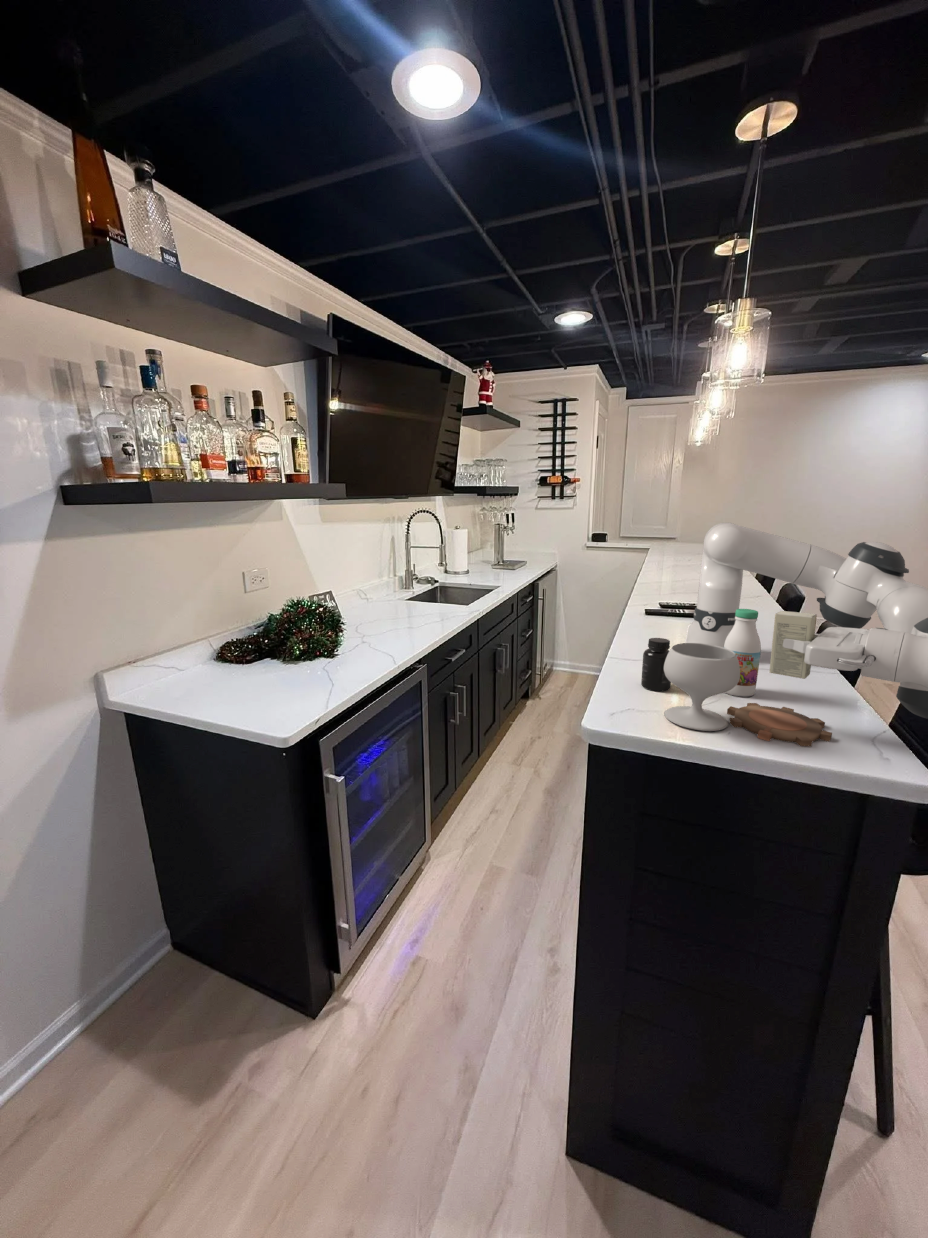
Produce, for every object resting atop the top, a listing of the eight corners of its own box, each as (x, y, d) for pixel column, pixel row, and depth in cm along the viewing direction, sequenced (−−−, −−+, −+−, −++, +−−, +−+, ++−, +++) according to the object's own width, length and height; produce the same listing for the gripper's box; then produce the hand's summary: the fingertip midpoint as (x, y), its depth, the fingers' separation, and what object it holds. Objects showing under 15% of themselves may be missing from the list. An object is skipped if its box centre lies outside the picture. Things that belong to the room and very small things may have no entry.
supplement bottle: (665, 683, 125) (670, 636, 122) (674, 692, 118) (679, 644, 116) (637, 681, 126) (641, 635, 123) (644, 691, 119) (648, 643, 116)
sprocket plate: (741, 701, 113) (742, 695, 113) (839, 726, 100) (840, 719, 100) (713, 725, 100) (714, 718, 100) (820, 756, 88) (821, 749, 88)
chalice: (657, 727, 100) (664, 655, 96) (660, 702, 112) (667, 638, 109) (735, 740, 94) (746, 664, 91) (730, 713, 106) (739, 646, 103)
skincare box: (810, 675, 98) (819, 614, 95) (805, 680, 95) (814, 617, 92) (773, 667, 102) (780, 609, 99) (766, 672, 99) (774, 612, 96)
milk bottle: (716, 684, 124) (726, 606, 120) (751, 688, 121) (762, 608, 117) (720, 695, 117) (731, 612, 112) (758, 699, 114) (770, 614, 110)
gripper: (867, 685, 81) (771, 666, 91) (881, 658, 96) (797, 645, 105) (873, 648, 80) (775, 633, 89) (887, 626, 94) (801, 616, 104)
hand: (787, 639), depth 97 cm, fingers closed on skincare box, 4 cm apart
